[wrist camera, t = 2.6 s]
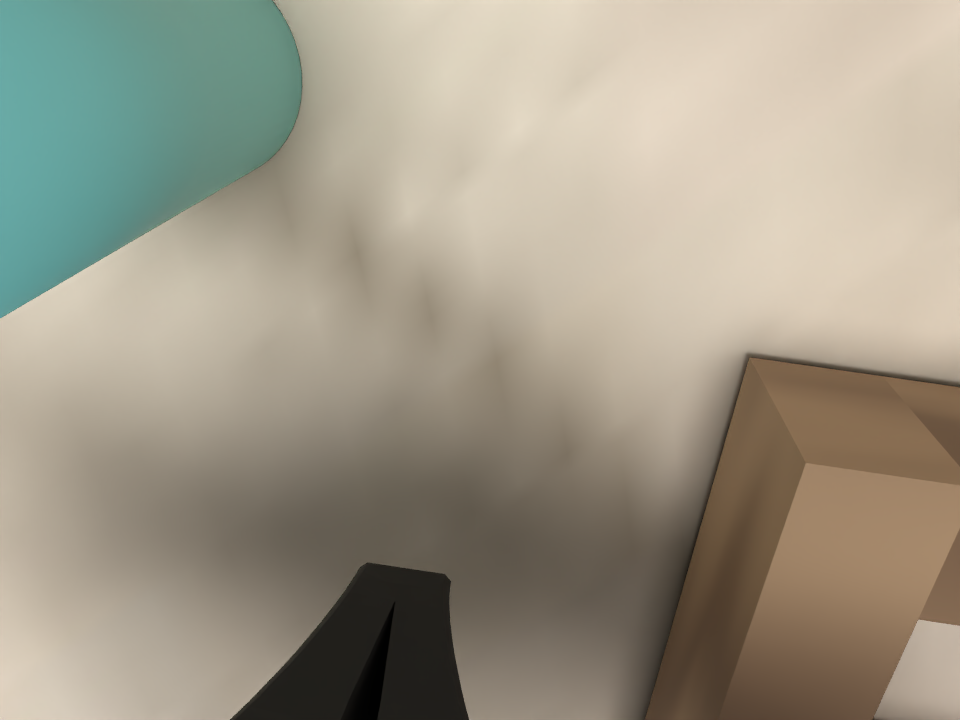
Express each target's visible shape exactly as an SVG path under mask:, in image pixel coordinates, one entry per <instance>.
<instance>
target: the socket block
mask: <svg viewBox="0 0 960 720" xmlns="http://www.w3.org/2000/svg"><path fill="white" fill-rule="evenodd" d="M918 619H919V620H926V621H932V622H939V623H946V624H952V625H959V626H960V387H954V386H947V385H940V384H933V383H926V382H919V381H912V380H905V379H898V378H891V377H884V376H877V375H870V374H863V373H856V372H849V371H842V370H835V369H828V368H821V367H814V366H807V365H800V364H793V363H786V362H779V361H772V360H765V359H758V358H751V357H749V361H748V364H747V368H746V371H745V375H744V378H743V382H742V385H741V388H740V392H739V395H738V399H737V402H736V406H735V409H734V413H733V416H732V420H731V423H730V427H729V430H728V434H727V437H726V440H725V444H724V447H723V451H722V454H721V458H720V461H719V465H718V468H717V472H716V475H715V479H714V482H713V485H712V489H711V492H710V496H709V499H708V503H707V506H706V510H705V513H704V517H703V520H702V524H701V527H700V531H699V534H698V537H697V541H696V544H695V548H694V551H693V555H692V558H691V562H690V565H689V569H688V572H687V576H686V579H685V583H684V586H683V589H682V593H681V596H680V600H679V603H678V607H677V610H676V614H675V617H674V621H673V624H672V628H671V631H670V635H669V638H668V641H667V645H666V648H665V652H664V655H663V659H662V662H661V666H660V669H659V673H658V676H657V680H656V683H655V686H654V690H653V693H652V697H651V700H650V704H649V707H648V711H647V714H646V718H645V720H872V719H873V717H874V715H875V713H876V710H877V708H878V706H879V704H880V702H881V699H882V697H883V695H884V693H885V691H886V688H887V686H888V684H889V682H890V680H891V678H892V675H893V673H894V671H895V669H896V667H897V664H898V662H899V660H900V658H901V656H902V654H903V651H904V649H905V647H906V645H907V643H908V640H909V638H910V636H911V634H912V632H913V629H914V627H915V625H916V623H917V621H918Z"/></svg>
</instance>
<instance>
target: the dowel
mask: <svg viewBox="0 0 960 720" xmlns="http://www.w3.org/2000/svg"><path fill="white" fill-rule="evenodd" d="M301 93H302V73H301V66H300V60H299V55H298V51H297V48H296V44H295V41H294V38H293V36H292V34H291V31H290V29H289V26H288V25H287V23H286V21H285V19H284V17H283V16H282V14H281V12H280V11H279V9H278V8H277V7H276V5H275V4H274V2H273V1H272V0H0V318H2V317H3V316H5V315H7V314H8V313H10V312H12V311H14V310H15V309H17V308H19V307H20V306H22V305H24V304H26V303H27V302H29V301H31V300H32V299H34V298H36V297H38V296H39V295H41V294H43V293H44V292H46V291H48V290H50V289H51V288H53V287H55V286H56V285H58V284H60V283H61V282H63V281H65V280H67V279H68V278H70V277H72V276H73V275H75V274H77V273H79V272H80V271H82V270H84V269H85V268H87V267H89V266H91V265H92V264H94V263H96V262H97V261H99V260H101V259H102V258H104V257H106V256H108V255H109V254H111V253H113V252H114V251H116V250H118V249H120V248H121V247H123V246H125V245H126V244H128V243H130V242H132V241H133V240H135V239H137V238H138V237H140V236H142V235H144V234H145V233H147V232H149V231H150V230H152V229H154V228H155V227H157V226H159V225H161V224H162V223H164V222H166V221H167V220H169V219H171V218H173V217H174V216H176V215H178V214H179V213H181V212H183V211H185V210H186V209H188V208H190V207H191V206H193V205H195V204H196V203H198V202H200V201H202V200H203V199H205V198H207V197H208V196H210V195H212V194H214V193H215V192H217V191H219V190H220V189H222V188H224V187H226V186H227V185H229V184H231V183H232V182H234V181H236V180H238V179H239V178H241V177H243V176H244V175H246V174H248V173H249V172H251V171H253V170H255V169H256V168H258V167H260V166H261V165H263V164H264V163H265V162H267V161H268V160H269V159H271V158H272V157H273V156H274V155H275V153H276V152H277V151H278V150H279V149H280V148H281V147H282V145H283V144H284V143H285V141H286V140H287V138H288V136H289V134H290V132H291V131H292V129H293V127H294V124H295V121H296V118H297V115H298V111H299V107H300V102H301Z"/></svg>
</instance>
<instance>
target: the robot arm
mask: <svg viewBox="0 0 960 720" xmlns="http://www.w3.org/2000/svg"><path fill="white" fill-rule="evenodd" d="M450 585H451V581H450V580H449V579H448V577H447V576H446V575H445V574H440V573H433V572H426V571H420V570H413V569H406V568H400V567H393V566H386V565H380V564H373V563H366V564H365V565H363V566H362V567H360V569H359V570H358V572H357V573H356V575H355V577H354V578H353V580H352V581H351V583H350V584H349V586H348V587H347V589H346V590H345V591H344V593H343V594H342V596H341V597H340V598H339V600H338V601H337V602H336V604H335V605H334V606H333V608H332V609H331V610H330V611H329V613H328V614H327V615H326V617H325V618H324V619H323V620H322V622H321V623H320V624H319V625H318V626H317V628H316V629H315V630H314V631H313V632H312V634H311V635H310V636H309V637H308V638H307V639H306V641H305V642H304V643H303V644H302V645H301V647H300V648H299V649H298V650H297V651H296V653H295V654H294V655H293V656H292V657H291V658H290V659H289V660H288V661H287V663H286V664H285V665H284V666H283V667H282V668H281V669H280V670H279V671H278V672H277V673H276V674H275V675H274V676H273V677H272V678H271V679H270V680H269V681H268V682H267V684H266V685H265V686H264V687H263V688H262V689H261V690H260V691H259V692H258V693H257V694H256V695H255V696H254V697H253V698H252V699H251V700H250V701H249V702H248V703H247V704H246V705H245V706H244V707H243V708H242V709H241V710H240V711H239V712H238V713H237V714H236V715H234V716H233V717H232V718H231V719H230V720H469V718H468V714H467V711H466V707H465V703H464V698H463V694H462V690H461V685H460V680H459V675H458V670H457V665H456V660H455V655H454V649H453V642H452V634H451V625H450V612H449V592H450Z"/></svg>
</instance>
